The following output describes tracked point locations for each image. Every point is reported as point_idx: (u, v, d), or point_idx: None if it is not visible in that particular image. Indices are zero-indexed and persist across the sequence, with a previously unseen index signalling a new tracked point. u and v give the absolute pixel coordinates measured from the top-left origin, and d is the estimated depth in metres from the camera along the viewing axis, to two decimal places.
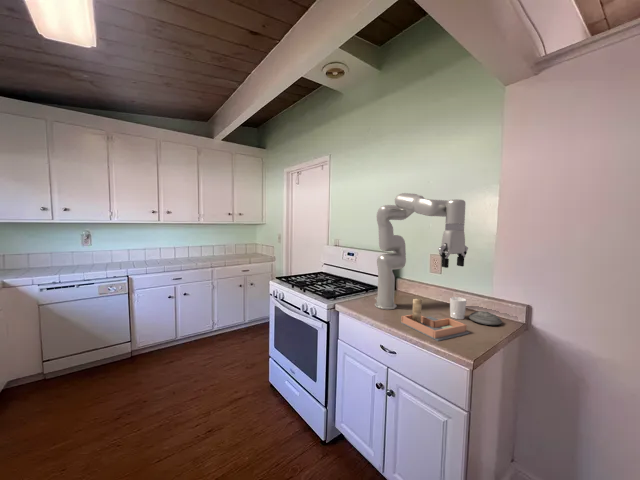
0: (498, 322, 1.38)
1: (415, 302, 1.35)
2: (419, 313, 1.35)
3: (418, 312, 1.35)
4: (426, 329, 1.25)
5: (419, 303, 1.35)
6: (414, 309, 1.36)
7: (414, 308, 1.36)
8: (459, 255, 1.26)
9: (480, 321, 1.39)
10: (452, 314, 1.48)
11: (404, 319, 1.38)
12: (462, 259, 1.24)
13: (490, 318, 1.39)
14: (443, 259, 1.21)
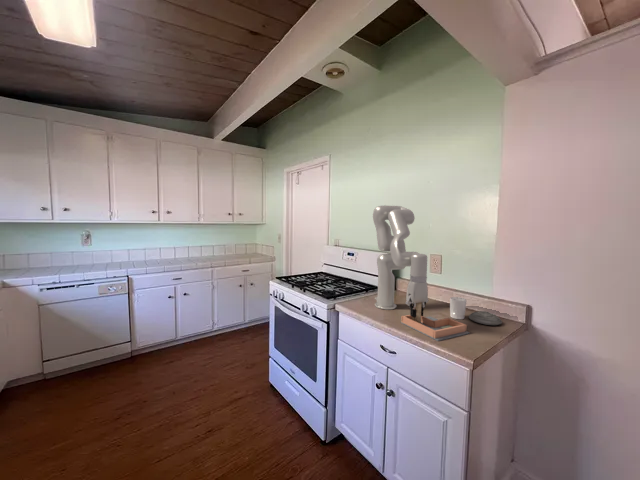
0: (498, 322, 1.38)
1: None
2: (419, 313, 1.35)
3: (418, 312, 1.35)
4: (426, 329, 1.25)
5: (419, 303, 1.35)
6: None
7: None
8: None
9: (480, 321, 1.39)
10: (452, 314, 1.48)
11: (404, 319, 1.38)
12: (421, 310, 1.37)
13: (490, 318, 1.39)
14: (411, 309, 1.35)
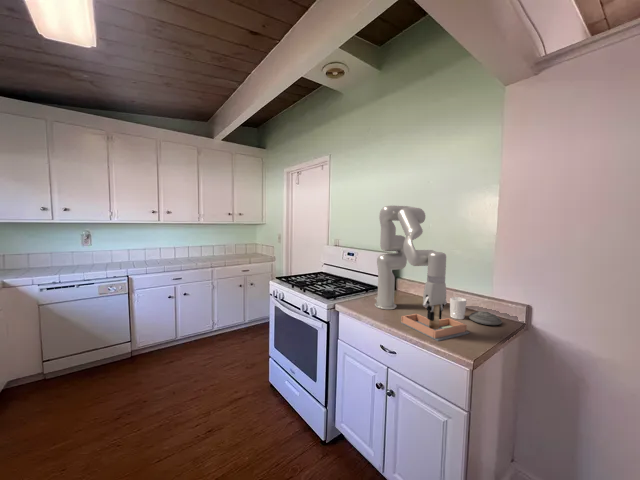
0: (498, 322, 1.38)
1: None
2: (437, 316, 1.25)
3: (436, 315, 1.25)
4: (426, 329, 1.25)
5: (437, 305, 1.25)
6: None
7: None
8: None
9: (480, 321, 1.39)
10: (452, 314, 1.48)
11: (404, 319, 1.38)
12: (439, 312, 1.27)
13: (490, 318, 1.39)
14: (429, 312, 1.26)
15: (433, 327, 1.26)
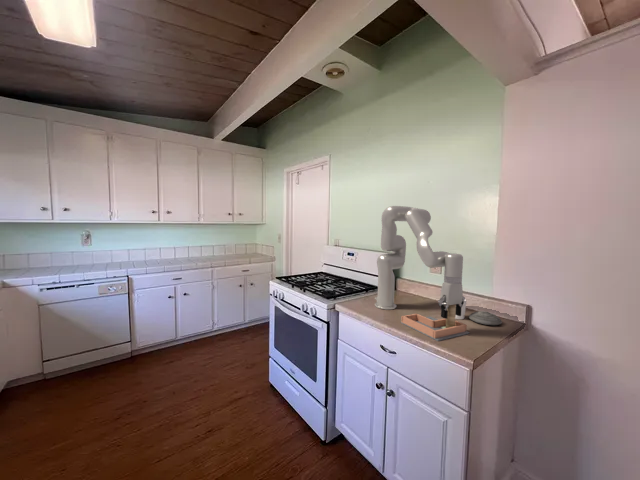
0: (498, 322, 1.38)
1: (449, 306, 1.30)
2: (453, 317, 1.30)
3: (452, 316, 1.29)
4: (426, 329, 1.25)
5: (453, 307, 1.29)
6: (448, 313, 1.30)
7: (448, 312, 1.30)
8: (456, 305, 1.34)
9: (480, 321, 1.39)
10: None
11: (404, 319, 1.38)
12: (459, 309, 1.32)
13: (490, 318, 1.39)
14: (442, 310, 1.29)
15: None
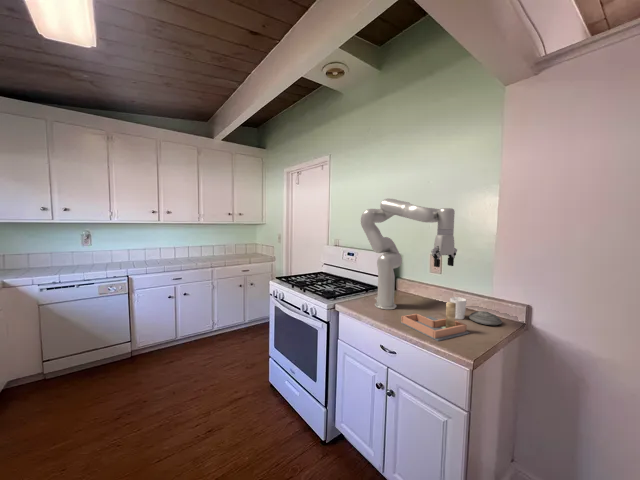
0: (498, 322, 1.38)
1: (449, 306, 1.30)
2: (453, 317, 1.30)
3: (452, 316, 1.29)
4: (426, 329, 1.25)
5: (453, 307, 1.29)
6: (448, 313, 1.30)
7: (448, 312, 1.30)
8: (449, 256, 1.45)
9: (480, 321, 1.39)
10: None
11: (404, 319, 1.38)
12: (452, 260, 1.43)
13: (490, 318, 1.39)
14: (435, 260, 1.40)
15: None
